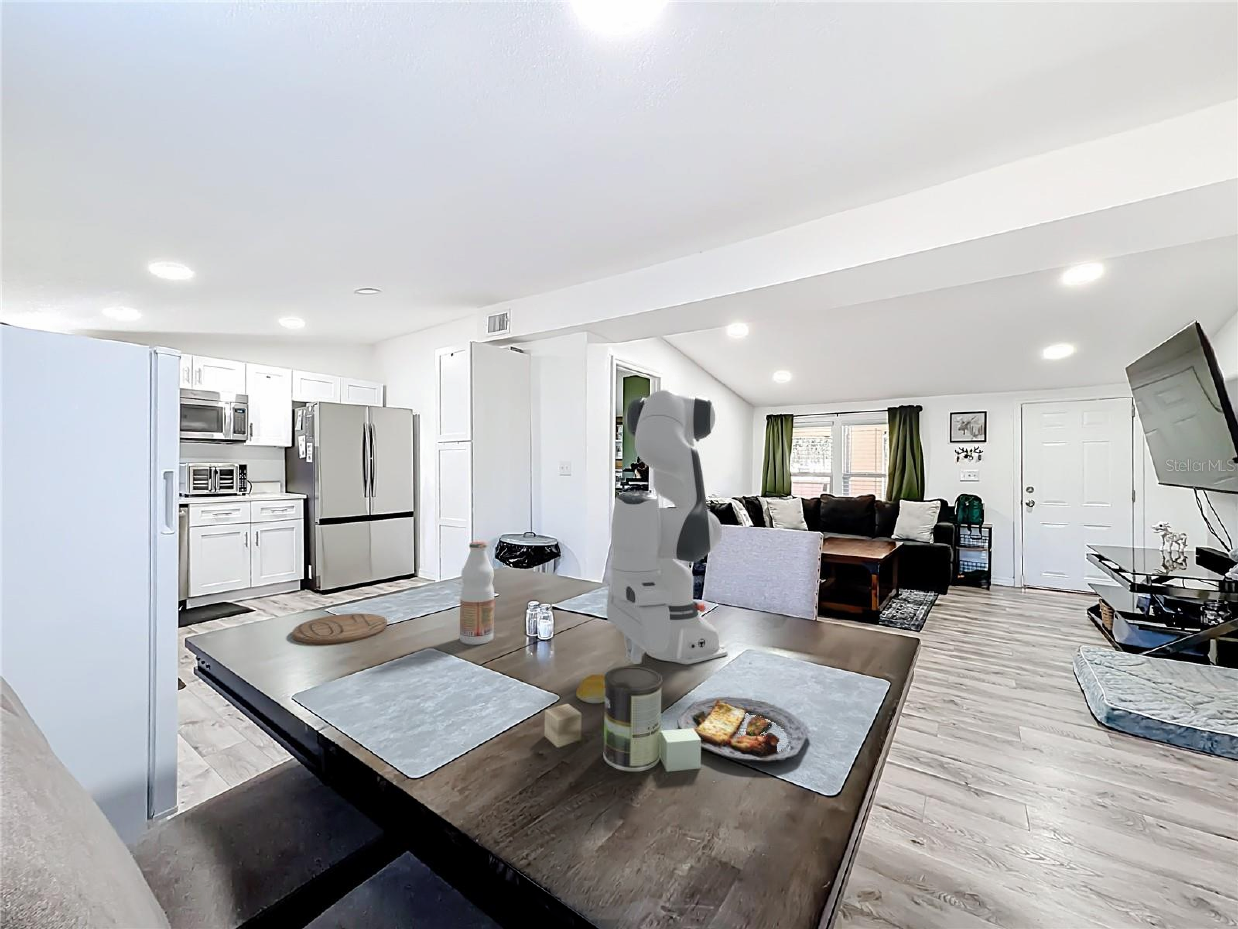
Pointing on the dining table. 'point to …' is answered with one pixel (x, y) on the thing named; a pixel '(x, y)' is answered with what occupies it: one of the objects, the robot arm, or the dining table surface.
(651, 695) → the coffee can
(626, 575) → the robot arm
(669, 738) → the pale green block
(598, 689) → the bread roll
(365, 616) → the trivet
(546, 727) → the maple block
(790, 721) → the food plate
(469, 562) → the fruit juice
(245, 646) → the dining table surface
